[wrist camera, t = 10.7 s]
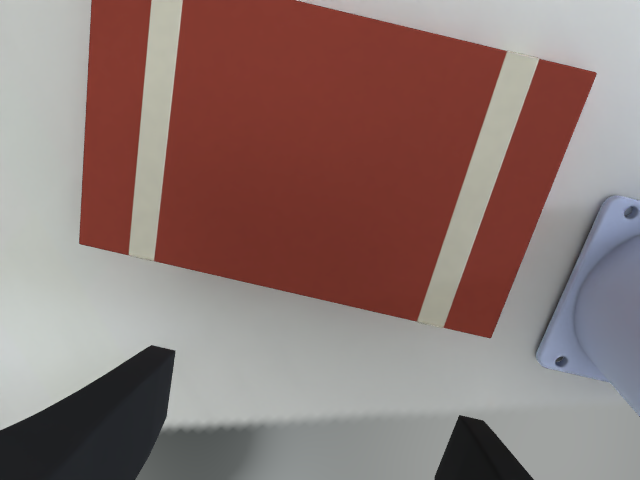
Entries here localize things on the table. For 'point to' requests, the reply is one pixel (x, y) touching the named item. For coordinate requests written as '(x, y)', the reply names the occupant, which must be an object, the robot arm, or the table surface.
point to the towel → (321, 153)
